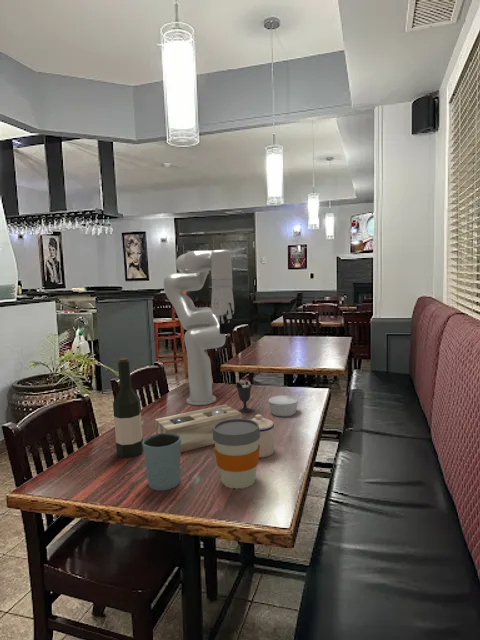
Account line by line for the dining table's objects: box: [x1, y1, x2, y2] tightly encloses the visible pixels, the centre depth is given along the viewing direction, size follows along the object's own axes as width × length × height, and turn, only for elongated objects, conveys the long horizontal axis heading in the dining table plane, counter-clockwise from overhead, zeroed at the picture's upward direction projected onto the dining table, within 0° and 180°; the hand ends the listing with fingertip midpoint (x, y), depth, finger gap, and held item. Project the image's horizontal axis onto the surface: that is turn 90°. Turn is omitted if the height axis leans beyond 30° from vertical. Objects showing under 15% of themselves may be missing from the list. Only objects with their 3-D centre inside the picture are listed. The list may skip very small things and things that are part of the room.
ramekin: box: [267, 395, 299, 417], centre depth 172 cm, size 11×11×5 cm
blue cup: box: [142, 433, 182, 491], centre depth 119 cm, size 10×10×12 cm
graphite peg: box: [173, 417, 185, 424], centre depth 145 cm, size 4×4×8 cm
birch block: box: [154, 404, 243, 453], centre depth 148 cm, size 12×26×8 cm, turn 119°
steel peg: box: [212, 409, 224, 416], centre depth 151 cm, size 4×4×8 cm
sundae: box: [235, 372, 253, 414], centre depth 175 cm, size 7×7×15 cm
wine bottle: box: [112, 357, 144, 459], centre depth 139 cm, size 8×8×30 cm
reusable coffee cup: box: [213, 418, 260, 490], centre depth 118 cm, size 13×13×15 cm
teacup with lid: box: [250, 413, 275, 458], centre depth 136 cm, size 12×9×12 cm
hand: (224, 333), depth 166 cm, fingers closed
